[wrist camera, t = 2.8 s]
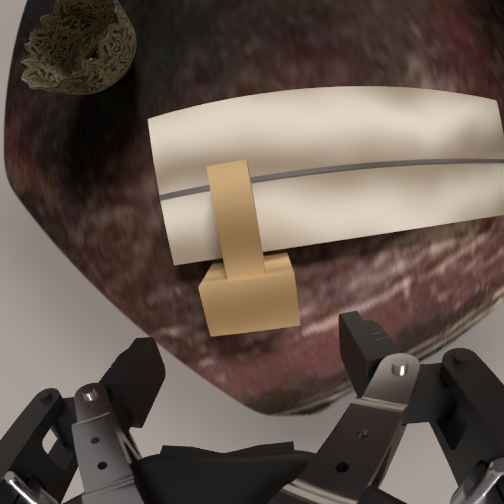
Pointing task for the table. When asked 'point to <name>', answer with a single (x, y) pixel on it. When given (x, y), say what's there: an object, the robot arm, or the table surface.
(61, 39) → the cup
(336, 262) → the table surface
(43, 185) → the table surface
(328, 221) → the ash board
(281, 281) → the tan t-shaped block
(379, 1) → the table surface
